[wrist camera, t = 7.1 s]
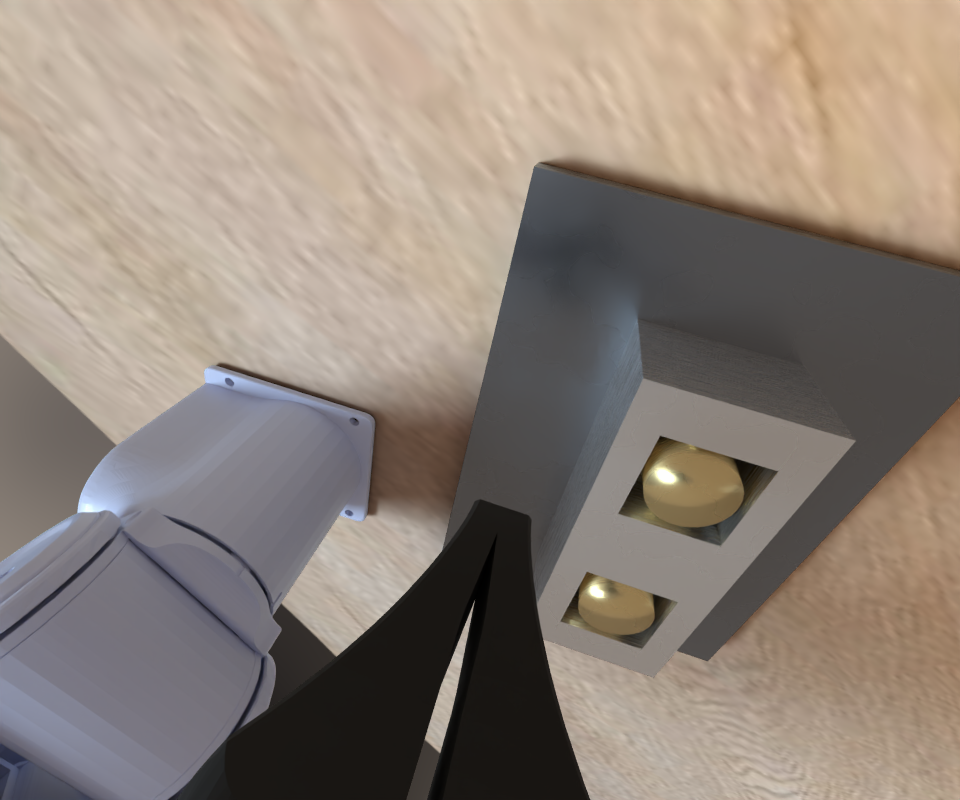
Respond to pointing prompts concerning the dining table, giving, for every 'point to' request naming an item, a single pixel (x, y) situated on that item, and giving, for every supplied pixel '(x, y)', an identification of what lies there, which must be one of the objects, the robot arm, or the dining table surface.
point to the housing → (652, 541)
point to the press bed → (710, 314)
